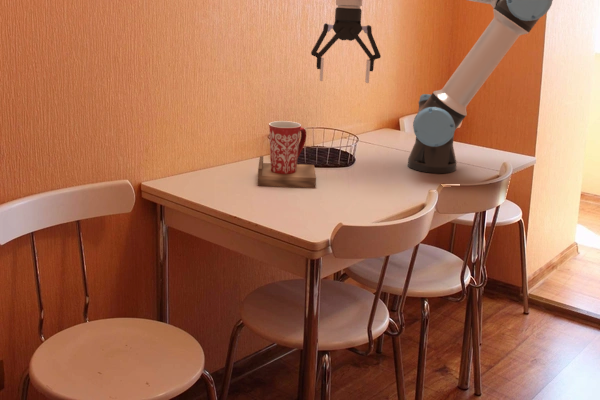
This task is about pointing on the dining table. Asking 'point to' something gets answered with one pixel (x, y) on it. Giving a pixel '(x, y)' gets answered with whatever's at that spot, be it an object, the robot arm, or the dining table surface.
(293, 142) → the mug
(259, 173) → the dock
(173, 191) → the dining table surface
